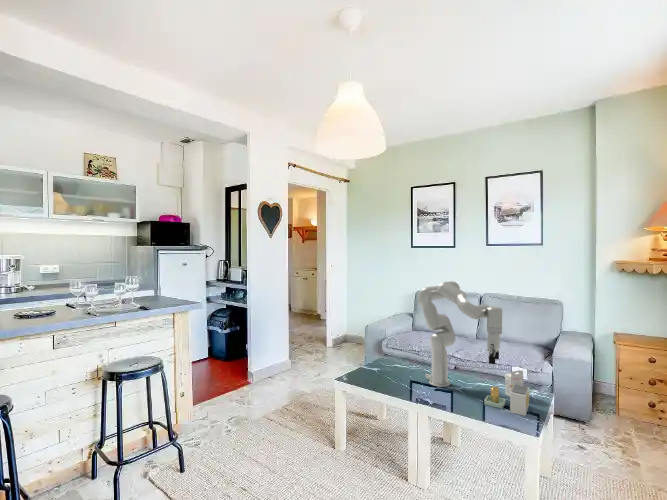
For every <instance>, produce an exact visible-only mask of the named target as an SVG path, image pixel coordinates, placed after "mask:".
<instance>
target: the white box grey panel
mask: <svg viewBox="0 0 667 500" xmlns="http://www.w3.org/2000/svg"><path fill="white" fill-rule="evenodd" d="M509 400H510V401H509V409H510V410H509V413H510V414H511V413H512V414H516V415H520V416H523V417H526V415H527V413H528V409H529V406H530V403H529V402H530V387H529V386H525V385H523V386H521V385H516V384H514V386H513V388H512V390H511V392H510V399H509Z"/></svg>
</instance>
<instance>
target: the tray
mask: <svg viewBox="0 0 667 500" xmlns="http://www.w3.org/2000/svg"><path fill="white" fill-rule="evenodd" d="M506 400H507V399H506V398H503V397H499V404H498V403H494V402H491V394H490V395H489V394H487V395H486V397H485V398H484V401H483V405H484V406H489V407H493V408H498V409H502V410H503V409H504V407H505V405H506V402H507V401H506Z"/></svg>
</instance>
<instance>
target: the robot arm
mask: <svg viewBox="0 0 667 500" xmlns="http://www.w3.org/2000/svg"><path fill="white" fill-rule="evenodd" d="M466 293H467V292H465V291H463V290H461V287H460V285H459V283H457V282H456V281H443V282H441V283H440V284H439V285H433V286H432V285H431V286H426V287H424V288H422V289H421V290H420V291H419V293H418V296H417V297H418V298H417V299H418V303H419V305H420V308H421V309H422V313H423V316H424V320H425V322H426V325H427V328H428V329H429V330H431V331H437V332H435V333H433V334H432V335H431V336H430V338H429V342H430V348H431V373H430V374H428V373H425V375H424V376H425V378H426V379H428V383H429V384H430V385H431V386H434V387H439V388H446V387H449V386H450V385H451V381H450V380H448V376H449V375H448V371H449V370H448V367H449V365H448V362H449V361H448V360H449V359H448V357H449V355H448V352H447V349H446V347H449V346H452V345H454V344H455V343H456V339H457V338H456V334H455V331H454V328H453V325H452V322H451V320H450V318H449V317H448V315H446V314H444V313H439V312H438V310H437V306H436V305H435V304H434V303H433V302H432V301H434V300H441V299H448V300H449V301H451V302H452V303H454V304H455V305H457V308H458V309H459V311H460V312H461V313H462V314H463V315H465V316H466V317H469V318H470V319H472V320H480V319H481V320H482V319H486V332H487V342H486V343H487V344H486V345H487V346H486V351H487V352H488V364H491V365H495V364H496V360H500V346H501V335H502V334H503V309H502V307H500V306H492V305H489V304H485V303H484V304H482V303H481V304H476V305H475V304H473V303H471V302H470V301H468V300H467V294H466Z"/></svg>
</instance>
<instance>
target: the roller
mask: <svg viewBox="0 0 667 500" xmlns="http://www.w3.org/2000/svg"><path fill="white" fill-rule="evenodd" d="M490 396H491V402H494V403H498V404H499V398H500V387H498V386H490Z"/></svg>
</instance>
